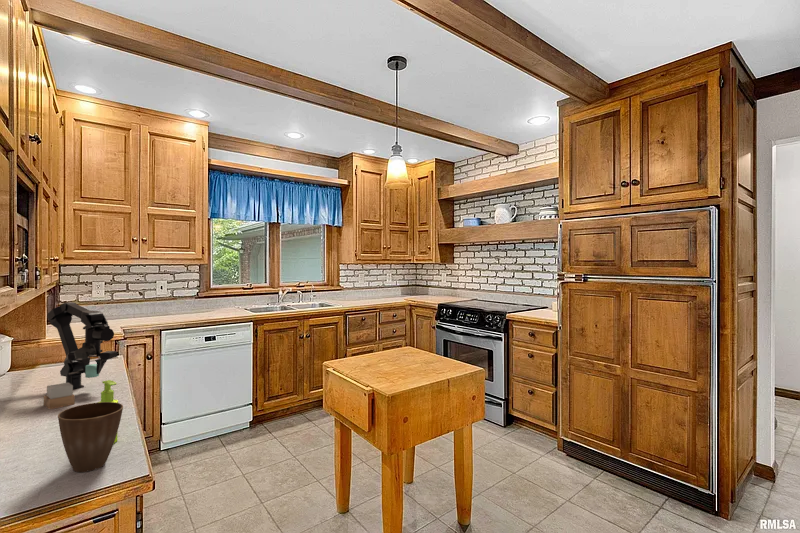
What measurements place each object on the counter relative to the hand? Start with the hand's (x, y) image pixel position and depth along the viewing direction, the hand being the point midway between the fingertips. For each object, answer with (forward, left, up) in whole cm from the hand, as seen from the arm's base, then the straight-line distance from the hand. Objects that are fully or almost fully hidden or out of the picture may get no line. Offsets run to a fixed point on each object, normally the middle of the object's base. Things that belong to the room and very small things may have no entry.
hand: (92, 373), depth 189 cm
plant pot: (+83, -27, -8) cm, 88 cm away
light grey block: (+11, -15, -4) cm, 19 cm away
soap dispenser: (+69, -18, -8) cm, 72 cm away
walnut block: (+11, -15, -8) cm, 20 cm away
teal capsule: (0, 0, -1) cm, 1 cm away
